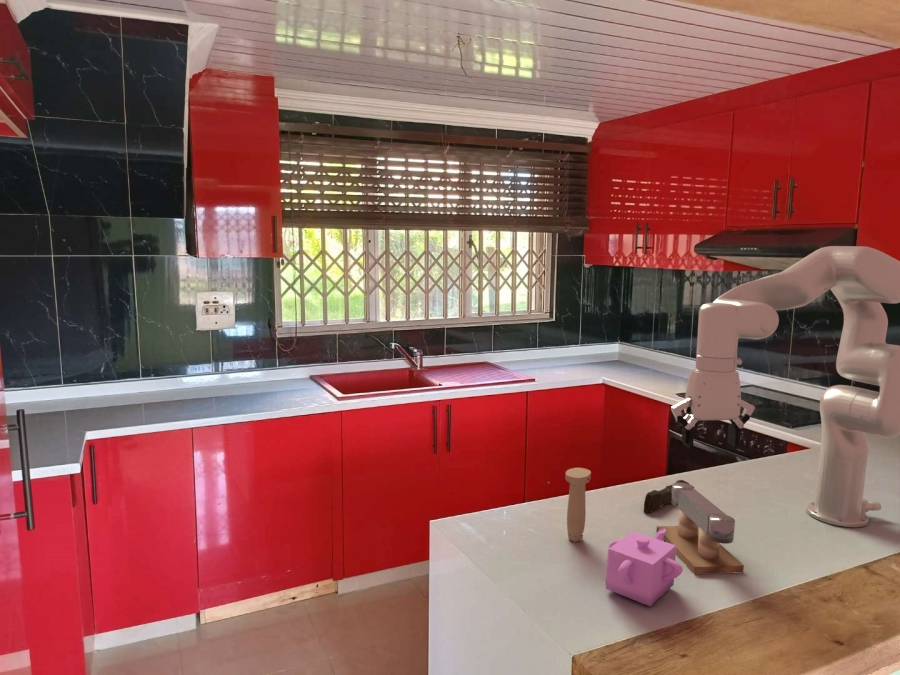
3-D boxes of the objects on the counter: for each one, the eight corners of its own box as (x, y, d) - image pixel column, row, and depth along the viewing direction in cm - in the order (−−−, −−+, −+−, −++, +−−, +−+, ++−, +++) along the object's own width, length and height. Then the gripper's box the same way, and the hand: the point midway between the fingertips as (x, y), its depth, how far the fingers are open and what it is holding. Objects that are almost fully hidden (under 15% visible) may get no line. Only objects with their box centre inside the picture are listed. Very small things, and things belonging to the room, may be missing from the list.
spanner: (687, 499, 142) (688, 482, 142) (738, 543, 121) (739, 523, 121) (667, 499, 142) (668, 482, 141) (715, 543, 121) (716, 524, 120)
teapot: (631, 560, 128) (634, 512, 127) (700, 585, 119) (704, 534, 118) (586, 595, 115) (588, 543, 114) (660, 627, 106) (663, 570, 105)
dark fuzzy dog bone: (676, 492, 165) (677, 475, 165) (690, 497, 162) (691, 479, 162) (633, 511, 153) (634, 492, 153) (648, 516, 150) (649, 497, 150)
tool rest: (699, 531, 142) (701, 501, 141) (743, 572, 124) (746, 538, 123) (656, 532, 141) (658, 502, 140) (694, 574, 123) (696, 540, 122)
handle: (558, 541, 136) (561, 474, 134) (571, 530, 141) (574, 466, 139) (579, 547, 133) (582, 479, 131) (591, 536, 138) (594, 470, 136)
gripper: (746, 360, 133) (740, 439, 135) (666, 361, 131) (662, 441, 133) (767, 367, 125) (760, 450, 128) (683, 368, 124) (678, 453, 126)
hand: (710, 445), depth 131 cm, fingers open, 9 cm apart
